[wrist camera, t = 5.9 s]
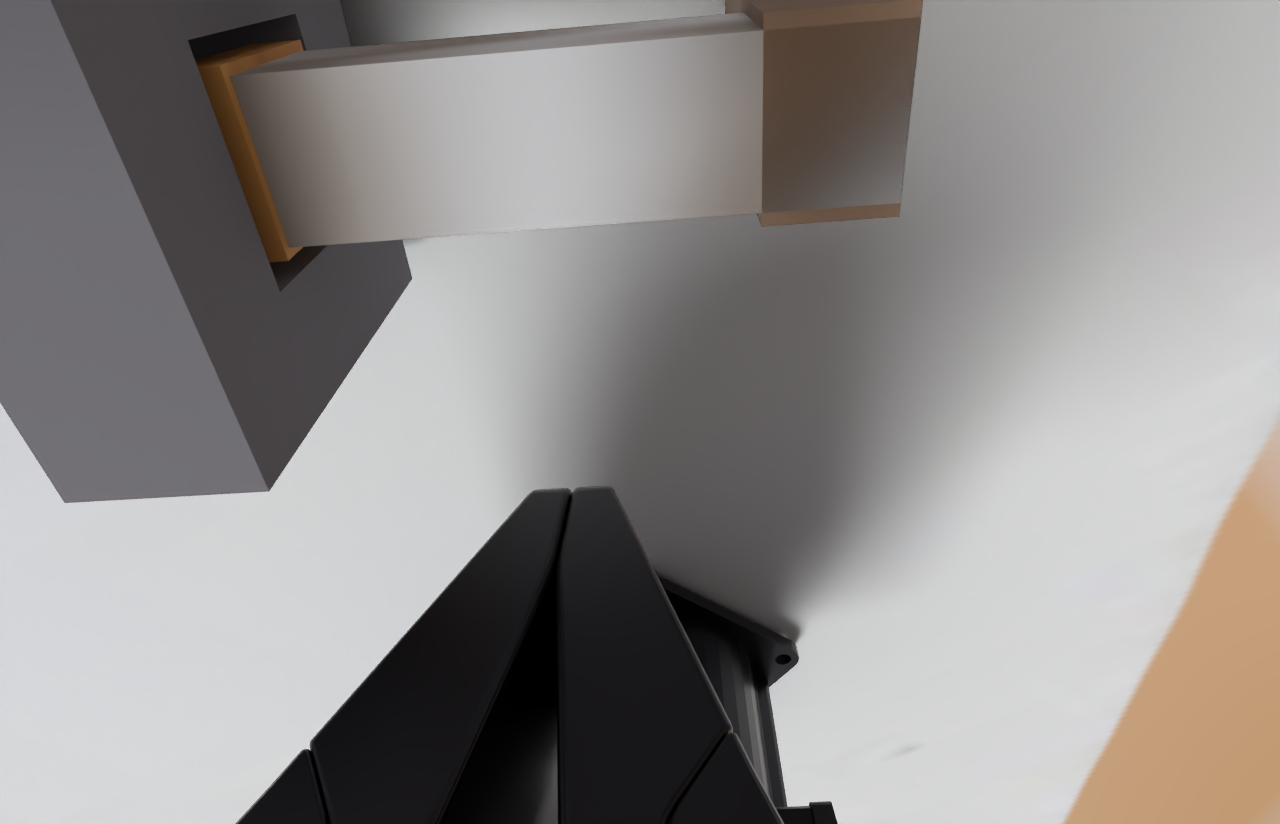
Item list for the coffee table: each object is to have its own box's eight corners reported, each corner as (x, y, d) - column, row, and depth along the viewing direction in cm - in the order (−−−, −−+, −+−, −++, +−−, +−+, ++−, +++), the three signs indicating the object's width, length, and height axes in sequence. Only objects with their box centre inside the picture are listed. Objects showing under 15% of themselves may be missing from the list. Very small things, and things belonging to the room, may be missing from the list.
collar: (304, -137, 13) (-39, -200, 6) (411, 278, 17) (268, 491, 11) (134, -120, 13) (-366, -167, 7) (282, 287, 17) (64, 503, 11)
